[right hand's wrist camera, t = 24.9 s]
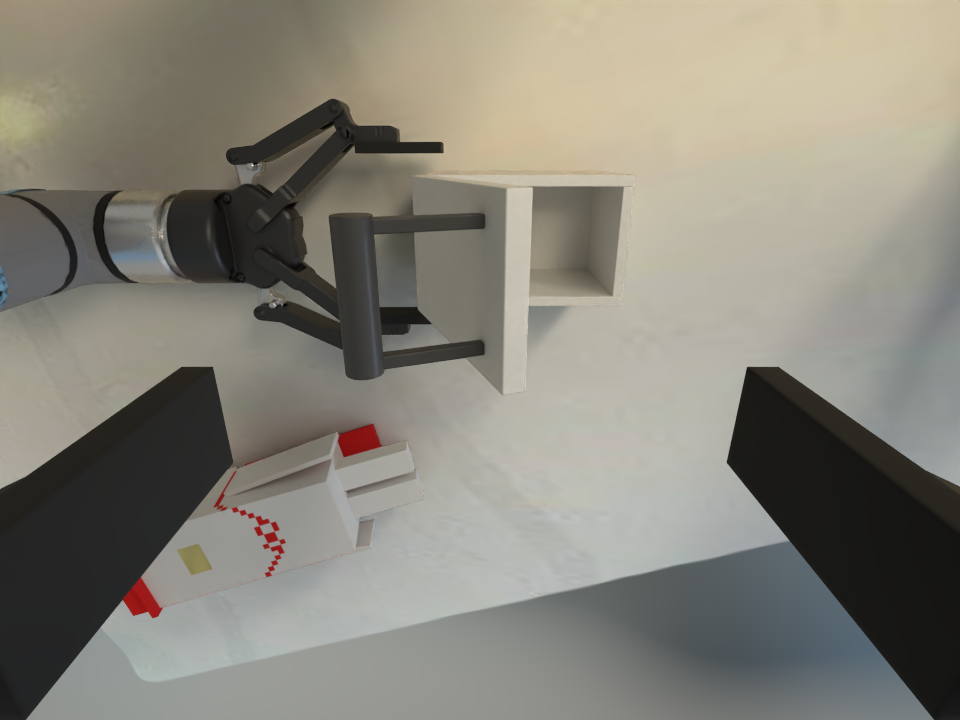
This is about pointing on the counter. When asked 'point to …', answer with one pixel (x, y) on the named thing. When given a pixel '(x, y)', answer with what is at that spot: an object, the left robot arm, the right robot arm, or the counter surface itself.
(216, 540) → the toy
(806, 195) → the counter surface
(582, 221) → the white open box
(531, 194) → the lid
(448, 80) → the counter surface
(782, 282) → the counter surface
